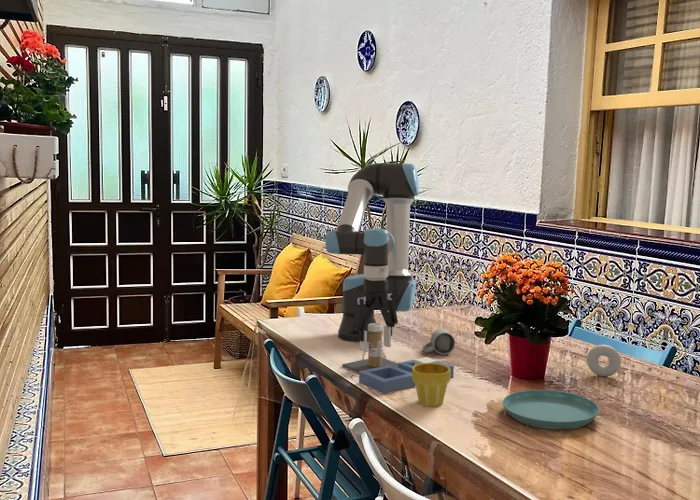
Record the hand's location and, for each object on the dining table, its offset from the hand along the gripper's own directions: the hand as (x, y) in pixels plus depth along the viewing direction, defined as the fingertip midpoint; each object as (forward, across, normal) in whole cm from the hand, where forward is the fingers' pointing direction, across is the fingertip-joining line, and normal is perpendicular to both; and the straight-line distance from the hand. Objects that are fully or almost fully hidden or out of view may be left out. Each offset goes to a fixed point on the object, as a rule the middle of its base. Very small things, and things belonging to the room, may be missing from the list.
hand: (375, 348), depth 225 cm
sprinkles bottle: (+6, 0, 0) cm, 6 cm away
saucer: (+7, +12, -59) cm, 61 cm away
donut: (+7, +52, -47) cm, 70 cm away
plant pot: (+7, -7, -34) cm, 35 cm away
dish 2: (+6, +8, -15) cm, 18 cm away
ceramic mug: (+7, +30, +3) cm, 30 cm away
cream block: (+7, +8, -15) cm, 18 cm away
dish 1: (+6, -7, -15) cm, 18 cm away
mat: (+6, 0, 0) cm, 6 cm away
